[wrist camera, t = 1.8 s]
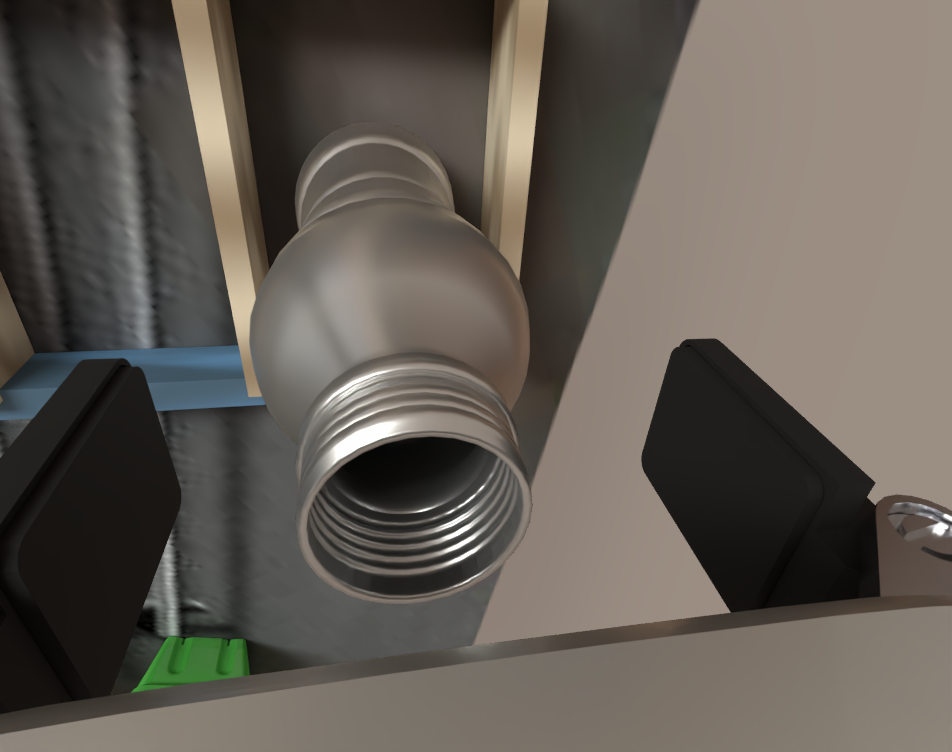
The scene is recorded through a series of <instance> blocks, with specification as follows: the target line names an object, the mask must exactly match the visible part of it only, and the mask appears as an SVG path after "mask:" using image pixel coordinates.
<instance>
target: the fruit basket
mask: <svg viewBox="0 0 952 752" xmlns="http://www.w3.org/2000/svg"><path fill="white" fill-rule="evenodd" d="M243 676H250V671H249V662H248V654H247V646H246V641H245V640H244V639H232V640H230V641H228V639H223V638H205V637H191V638H186V639H183V638H181V637H176V636H170V637H168V638H167V639H166V641H165V642H164V644H163V645H162V647H161V649H160V650H159V652H158V654H157V655H156V657H155V659H154V660H153V662H152V664H151V665H150V667H149V668H148V670H147V672H146V673H145V675H144V677H143V678H142V680H141V682H140V683H139V685H138V686H137V688H135V689H134V690H133V691H132V692H138V691H145V690H152V689H158V688H165V687H171V686H178V685H185V684H191V683H198V682H206V681H213V680H220V679H228V678H235V677H243ZM132 692H131V693H132Z"/></svg>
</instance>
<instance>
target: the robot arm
mask: <svg viewBox="0 0 952 752" xmlns="http://www.w3.org/2000/svg"><path fill="white" fill-rule="evenodd" d="M642 467H643V470H644V472H645V474H646V476H647V477H648V479H649V481H650V482H651V484H652V486H653V487H654V489H655V490H656V492H657V494H658V495H659V497H660V498H661V500H662V502H663V503H664V505H665V507H666V508H667V510H668V512H669V513H670V515H671V516H672V518H673V520H674V521H675V523H676V524H677V526H678V528H679V529H680V531H681V533H682V534H683V536H684V537H685V539H686V541H687V542H688V544H689V545H690V547H691V549H692V550H693V552H694V554H695V555H696V557H697V559H698V560H699V562H700V563H701V565H702V567H703V568H704V570H705V572H706V573H707V575H708V576H709V578H710V580H711V581H712V583H713V584H714V586H715V588H716V589H717V591H718V593H719V594H720V596H721V597H722V599H723V601H724V602H725V604H726V606H727V607H728V608H729V610H730V612H731V613H726V614H718V615H710V616H702V617H695V618H686V619H678V620H670V621H662V622H653V623H645V624H638V625H629V626H621V627H614V628H606V629H598V630H590V631H583V632H575V633H567V634H559V635H551V636H544V637H536V638H528V639H520V640H513V641H505V642H498V643H490V644H483V645H474V646H467V647H459V648H451V649H444V650H436V651H428V652H421V653H413V654H405V655H398V656H391V657H383V658H376V659H368V660H361V661H354V662H346V663H339V664H331V665H324V666H317V667H309V668H302V669H294V670H287V671H280V672H272V673H265V674H257V675H250V676H243V677H235V678H228V679H220V680H213V681H206V682H198V683H191V684H185V685H178V686H171V687H165V688H158V689H152V690H145V691H138V692H132V693H125V694H118V695H112V696H109V695H110V693H111V691H112V688H113V686H114V683H115V680H116V678H117V675H118V672H119V670H120V667H121V664H122V662H123V659H124V656H125V654H126V651H127V648H128V646H129V643H130V640H131V637H132V635H133V632H134V629H135V627H136V624H137V621H138V619H139V616H140V613H141V611H142V608H143V605H144V603H145V600H146V597H147V595H148V592H149V589H150V587H151V584H152V581H153V579H154V576H155V573H156V571H157V568H158V565H159V563H160V560H161V557H162V555H163V552H164V549H165V546H166V544H167V541H168V538H169V536H170V533H171V530H172V528H173V525H174V522H175V520H176V517H177V514H178V512H179V509H180V504H181V489H180V485H179V482H178V479H177V475H176V472H175V469H174V466H173V463H172V460H171V456H170V453H169V450H168V447H167V444H166V441H165V437H164V434H163V431H162V428H161V425H160V422H159V418H158V415H157V412H156V409H155V406H154V403H153V399H152V396H151V393H150V390H149V387H148V384H147V380H146V377H145V374H144V372H143V370H142V369H141V368H140V367H138V366H136V367H132V366H131V364H130V363H129V362H128V360H126V359H124V358H111V359H85V360H82V361H81V362H79V363H78V364H77V366H76V367H75V368H74V369H73V370H72V372H71V373H70V374H69V375H68V377H67V378H66V379H65V380H64V381H63V383H62V384H61V385H60V386H59V387H58V389H57V390H56V391H55V392H54V394H53V395H52V396H51V397H50V398H49V400H48V401H47V402H46V403H45V405H44V406H43V407H42V408H41V409H40V411H39V412H38V413H37V414H36V415H35V417H34V418H33V419H32V420H31V422H30V423H29V424H28V425H27V426H26V428H25V429H24V430H23V431H22V432H21V434H20V435H19V436H18V437H17V439H16V440H15V441H14V442H13V443H12V445H11V446H10V447H9V448H8V450H7V451H6V452H5V453H4V454H3V456H2V457H1V458H0V752H952V511H951V510H949V509H947V508H945V507H943V506H941V505H938V504H936V503H933V502H931V501H929V500H925V499H921V498H918V497H914V496H907V495H892V496H887V497H884V498H883V499H881V500H880V501H878V503H877V504H876V506H875V505H874V504H873V503H872V502H871V501H870V500H869V499H868V498H867V496H868V494H869V493H870V491H871V489H872V488H873V486H874V484H875V482H874V481H873V480H872V479H871V478H870V477H869V476H868V475H867V474H865V473H864V472H863V471H862V470H861V469H860V468H859V467H858V466H857V465H855V464H854V463H853V462H852V461H851V460H850V459H849V458H848V457H847V456H846V455H844V454H843V453H842V452H841V451H840V450H839V449H838V448H837V447H836V446H835V445H833V444H832V443H831V442H830V441H829V440H828V439H827V438H826V437H825V436H824V435H823V434H821V433H820V432H819V431H818V430H817V429H816V428H815V427H814V426H813V425H812V424H810V423H809V422H808V421H807V420H806V419H805V418H804V417H803V416H802V415H801V414H799V413H798V412H797V411H796V410H795V409H794V408H793V407H792V406H791V405H789V404H788V403H787V402H786V401H785V400H784V399H783V398H782V397H781V396H780V395H779V394H777V393H776V392H775V391H774V390H773V389H772V388H771V387H770V386H769V385H768V384H767V383H765V382H764V381H763V380H762V379H761V378H760V377H759V376H758V375H757V374H755V373H754V372H753V371H752V370H751V369H750V368H749V367H748V366H747V365H746V364H745V363H743V362H742V361H741V360H740V359H739V358H738V357H737V356H736V355H735V354H734V353H732V352H731V351H730V350H729V349H728V348H727V347H726V346H725V345H724V344H723V343H721V342H720V341H719V340H717V339H686V340H685V341H683V342H682V343H681V344H680V346H679V347H676V348H675V349H674V350H673V351H672V353H671V356H670V359H669V363H668V366H667V369H666V373H665V376H664V380H663V384H662V387H661V390H660V394H659V397H658V400H657V404H656V407H655V411H654V414H653V418H652V421H651V424H650V428H649V431H648V435H647V438H646V442H645V445H644V449H643V452H642Z"/></svg>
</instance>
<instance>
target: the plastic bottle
mask: <svg viewBox="0 0 952 752" xmlns="http://www.w3.org/2000/svg"><path fill="white" fill-rule="evenodd" d="M295 209H296V218H297V224H298V229H299V231H298V232H297V233H296V235H295V236H294V237H293V238H292V239H291V240H290V241H289V242H288V243H287V245H286V246H285V247H284V248H283V249H282V250H281V251H280V252H279V254H278V256H277V258H276V259H275V261H274V263H273V265H272V266H271V268H270V270H269V272H268V273H267V275H266V277H265V279H264V281H263V282H262V284H261V286H260V288H259V290H258V293H257V296H256V299H255V303H254V306H253V310H252V313H251V317H250V334H249V346H250V352H251V358H252V363H253V369H254V372H255V376H256V379H257V383H258V386H259V389H260V392H261V394H262V397H263V399H264V401H265V404H266V406H267V409H268V411H269V413H270V414H271V415H272V417H273V418H274V420H275V421H276V422H277V424H278V425H279V427H280V428H281V430H282V431H283V432H284V433H285V434H286V435H287V436H288V437H289V438H290V439H291V440H293V441H294V442H295V443H296V444H297V445H298V447H297V455H296V464H295V466H296V473H297V480H298V485H299V493H298V502H297V510H296V518H295V519H296V526H297V534H298V540H299V547H300V549H301V551H302V553H303V556H304V558H305V560H306V562H307V563H308V565H309V566H310V567H311V568H312V570H313V571H314V572H315V573H316V574H317V576H319V577H320V578H321V579H322V580H324V581H325V582H326V583H328V584H329V585H330V586H331V587H333V588H335V589H337V590H339V591H341V592H343V593H345V594H347V595H350V596H353V597H356V598H360V599H363V600H366V601H372V602H379V603H387V604H409V603H417V602H424V601H430V600H434V599H438V598H442V597H446V596H449V595H452V594H454V593H457V592H459V591H462V590H464V589H467V588H469V587H470V586H472V585H474V584H476V583H478V582H479V581H481V580H483V579H485V578H486V577H487V576H489V575H490V574H491V573H493V572H494V571H495V570H497V569H498V568H499V567H500V566H501V565H502V564H503V563H504V562H505V561H506V560H507V559H508V558H509V557H510V556H511V555H512V554H513V553H514V551H515V550H516V548H517V547H518V545H519V544H520V542H521V540H522V539H523V537H524V535H525V533H526V530H527V528H528V525H529V523H530V517H531V511H532V496H531V488H530V479H529V476H528V474H527V471H526V468H525V466H524V463H523V460H522V458H521V455H520V453H519V444H518V434H517V429H516V426H515V424H514V421H513V418H512V415H511V413H510V412H511V410H512V408H513V406H514V405H515V403H516V401H517V399H518V398H519V396H520V393H521V390H522V387H523V384H524V381H525V378H526V375H527V369H528V362H529V354H530V330H529V317H528V307H527V304H526V300H525V297H524V294H523V290H522V287H521V284H520V282H519V280H518V279H517V277H516V275H515V273H514V271H513V270H512V268H511V266H510V264H509V262H508V261H507V260H506V259H505V257H504V256H503V255H502V254H501V253H500V252H499V251H498V250H497V248H496V247H495V246H494V245H493V244H492V243H491V242H490V241H489V240H488V239H487V238H486V237H485V236H484V235H483V233H482V232H481V231H480V230H478V229H477V228H476V227H474V226H473V225H471V224H470V223H469V222H467V221H466V220H465V219H463V218H462V217H460V216H459V215H457V214H455V209H454V201H453V194H452V188H451V184H450V181H449V178H448V175H447V172H446V170H445V168H444V167H443V165H442V163H441V161H440V160H439V158H438V156H437V155H436V154H435V153H434V152H433V150H432V149H431V148H430V147H429V146H428V145H427V144H426V143H425V142H424V141H423V140H421V139H420V138H419V137H417V136H416V135H415V134H414V133H412V132H410V131H408V130H406V129H403V128H401V127H399V126H396V125H393V124H389V123H385V122H372V121H364V122H359V123H354V124H349V125H346V126H344V127H342V128H339V129H337V130H335V131H333V132H332V133H330V134H329V135H327V136H326V137H325V138H323V139H322V140H321V141H320V142H319V143H318V144H317V145H316V146H315V147H314V149H313V150H312V151H311V152H310V153H309V155H308V156H307V158H306V160H305V162H304V164H303V166H302V167H301V170H300V173H299V177H298V180H297V183H296V192H295Z"/></svg>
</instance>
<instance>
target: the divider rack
mask: <svg viewBox="0 0 952 752" xmlns="http://www.w3.org/2000/svg"><path fill="white" fill-rule="evenodd" d="M172 6H173V11H174V16H175V21H176V26H177V31H178V36H179V41H180V47H181V52H182V57H183V62H184V67H185V72H186V77H187V83H188V88H189V93H190V98H191V103H192V108H193V113H194V119H195V124H196V129H197V134H198V139H199V144H200V149H201V155H202V160H203V165H204V170H205V175H206V180H207V185H208V191H209V196H210V201H211V206H212V211H213V216H214V221H215V227H216V232H217V237H218V242H219V247H220V252H221V257H222V262H223V268H224V273H225V278H226V283H227V288H228V293H229V298H230V304H231V309H232V314H233V319H234V324H235V329H236V334H237V340H238V345H236V346H210V347H184V348H157V349H131V350H105V351H79V352H53V353H34V350H33V348H32V345H31V343H30V341H29V338H28V336H27V334H26V331H25V329H24V326H23V324H22V322H21V319H20V317H19V315H18V312H17V310H16V307H15V305H14V303H13V300H12V298H11V296H10V293H9V291H8V288H7V286H6V284H5V281H4V279H3V277H2V274H1V272H0V420H10V419H27V418H34V417H35V415H36V414H37V413H38V412H39V411H40V409H41V408H42V407H43V406H44V405H45V403H46V402H47V401H48V400H49V398H50V397H51V396H52V395H53V394H54V392H55V391H56V390H57V389H58V387H59V386H60V385H61V384H62V383H63V381H64V380H65V379H66V378H67V377H68V375H69V374H70V373H71V372H72V370H73V369H74V368H75V367H76V366H77V364H78V363H79V362H81V361H82V360H85V359H111V358H124V359H126V360H128V362H129V363H130V364H131V366H132V367H136V366H138V367H140V368H141V369H142V370H143V372H144V374H145V377H146V380H147V384H148V387H149V390H150V393H151V396H152V399H153V403H154V406H155V409H156V411H165V410H182V409H199V408H217V407H234V406H251V405H266V404H265V401H264V399H263V397H262V394H261V392H260V389H259V386H258V383H257V379H256V376H255V372H254V369H253V363H252V358H251V352H250V346H249V334H250V317H251V313H252V310H253V306H254V303H255V299H256V296H257V293H258V290H259V288H260V286H261V284H262V282H263V281H264V279H265V277H266V275H267V273H268V272H269V264H268V257H267V251H266V244H265V237H264V230H263V224H262V217H261V210H260V204H259V197H258V190H257V183H256V177H255V170H254V163H253V157H252V150H251V143H250V136H249V130H248V123H247V116H246V109H245V103H244V96H243V89H242V83H241V76H240V69H239V62H238V56H237V49H236V42H235V35H234V29H233V22H232V15H231V9H230V2H229V0H172ZM547 8H548V0H495V2H494V19H493V35H492V51H491V67H490V83H489V99H488V116H487V132H486V148H485V164H484V180H483V197H482V213H481V229H480V231H481V232H482V233H483V235H484V236H485V237H486V238H487V239H488V240H489V241H490V242H491V243H492V244H493V245H494V246H495V247H496V248H497V250H498V251H499V252H500V253H501V254H502V255H503V256H504V257H505V259H506V260H507V261H508V262H509V264H510V266H511V268H512V270H513V271H514V273H515V275H516V277H517V279H518V280H519V276H520V267H521V257H522V247H523V238H524V228H525V219H526V209H527V200H528V190H529V180H530V171H531V161H532V152H533V142H534V133H535V123H536V113H537V104H538V94H539V85H540V75H541V65H542V56H543V46H544V37H545V27H546V18H547Z"/></svg>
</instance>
